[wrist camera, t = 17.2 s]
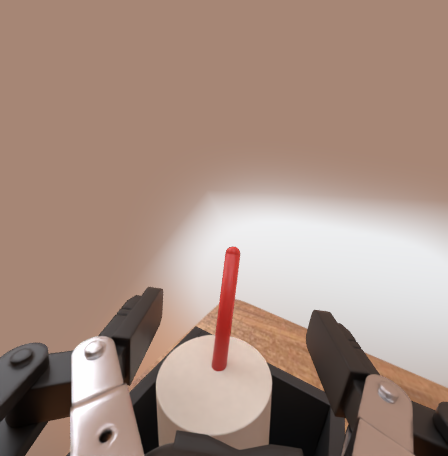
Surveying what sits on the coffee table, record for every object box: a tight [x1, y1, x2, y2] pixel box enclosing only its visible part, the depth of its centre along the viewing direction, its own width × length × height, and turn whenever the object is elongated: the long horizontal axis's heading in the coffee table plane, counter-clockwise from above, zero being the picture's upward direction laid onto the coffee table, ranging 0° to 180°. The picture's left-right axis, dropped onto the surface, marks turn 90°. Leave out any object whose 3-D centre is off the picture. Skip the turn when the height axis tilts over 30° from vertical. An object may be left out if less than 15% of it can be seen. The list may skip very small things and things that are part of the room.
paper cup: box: [156, 247, 272, 450], centre depth 11 cm, size 6×6×16 cm
